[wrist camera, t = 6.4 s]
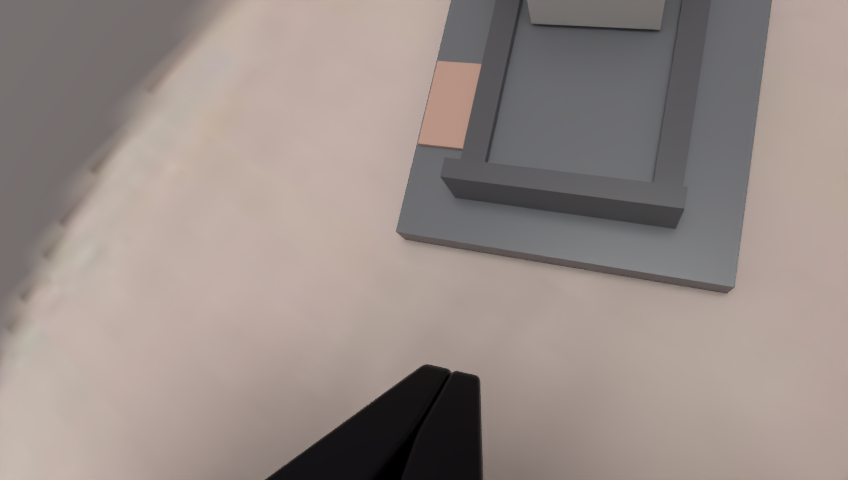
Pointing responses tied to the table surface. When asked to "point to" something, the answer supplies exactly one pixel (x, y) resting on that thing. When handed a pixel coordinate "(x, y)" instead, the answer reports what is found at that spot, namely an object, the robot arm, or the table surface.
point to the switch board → (592, 140)
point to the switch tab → (598, 13)
